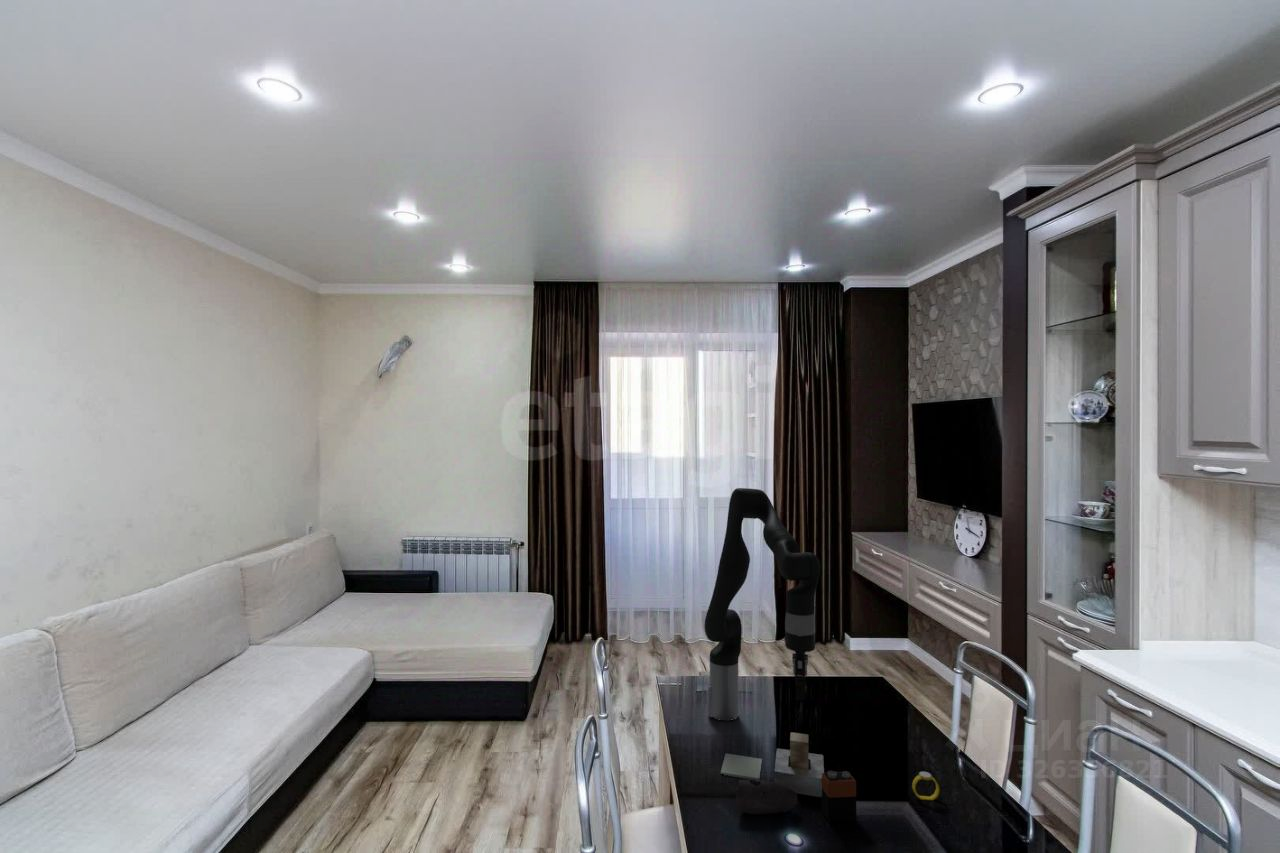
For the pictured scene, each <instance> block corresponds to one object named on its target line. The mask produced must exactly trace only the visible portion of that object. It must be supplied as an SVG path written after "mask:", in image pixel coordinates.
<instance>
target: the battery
mask: <svg viewBox="0 0 1280 853" xmlns="http://www.w3.org/2000/svg"><path fill="white" fill-rule="evenodd" d="M821 812H822V813H823V815H824V816H825V818H826V819H827V821H828V823H835V822H836V823H838V822H841V823H842V822H855V821H857V781H856V779H855V778H854V777H853V776H852V775H851V773H850V772H849V771H845V770H844V771H834V770H829V771H826V772H824V773H822V797H821Z"/></svg>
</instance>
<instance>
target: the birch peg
mask: <svg viewBox="0 0 1280 853" xmlns="http://www.w3.org/2000/svg"><path fill="white" fill-rule="evenodd" d="M789 737H790V738H789V750H790V767H793V768H800V769H806V770H809V762H808V753H809V734H807V733H806V734H805V733H801V732H800V733H799V732H790V735H789Z"/></svg>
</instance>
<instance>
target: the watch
mask: <svg viewBox="0 0 1280 853" xmlns="http://www.w3.org/2000/svg"><path fill="white" fill-rule="evenodd" d="M921 780H924V781H931V780H932V781H933V782H934V783H935V791H934V793H933V794H932V795H930V796H928V795H919V794H918V793H917V790H916V788H917V784H918V782H919V781H921ZM911 784H912V785H911V788H912V791H913V793H914V794H915V796H916V798H918V799H919V800H920V801H934V800H936V799H937V798H938V797H939V795H940V784H939V783H938V782H937V779H935V778H934V777H933V776H932V774H931V773H929V772H927V771H920V772H919V773H918V775H916V776H915V777H914V779H913V780H912V783H911Z"/></svg>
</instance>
